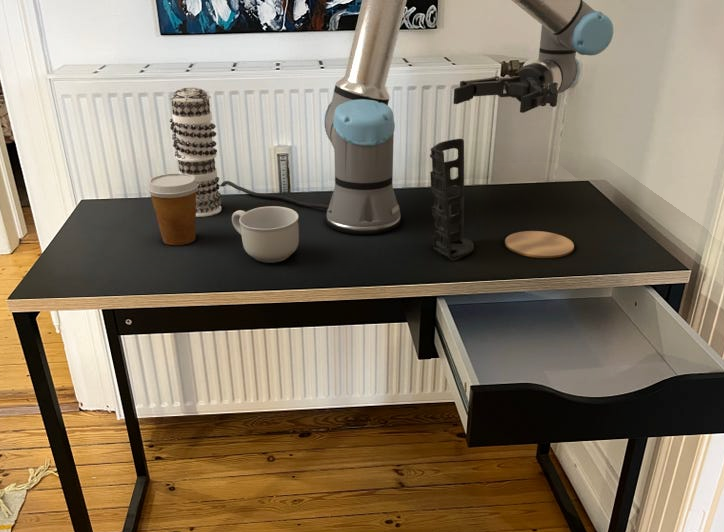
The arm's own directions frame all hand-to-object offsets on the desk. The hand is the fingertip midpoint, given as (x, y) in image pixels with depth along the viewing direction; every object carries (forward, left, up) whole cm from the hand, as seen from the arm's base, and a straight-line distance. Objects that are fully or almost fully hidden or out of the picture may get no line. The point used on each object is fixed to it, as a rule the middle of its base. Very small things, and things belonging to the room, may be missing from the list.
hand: (488, 100), depth 140 cm
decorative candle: (-55, -22, -26) cm, 65 cm away
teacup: (-27, -33, -26) cm, 50 cm away
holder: (0, -11, -26) cm, 28 cm away
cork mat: (+13, +1, -26) cm, 29 cm away
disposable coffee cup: (-46, -37, -26) cm, 65 cm away
